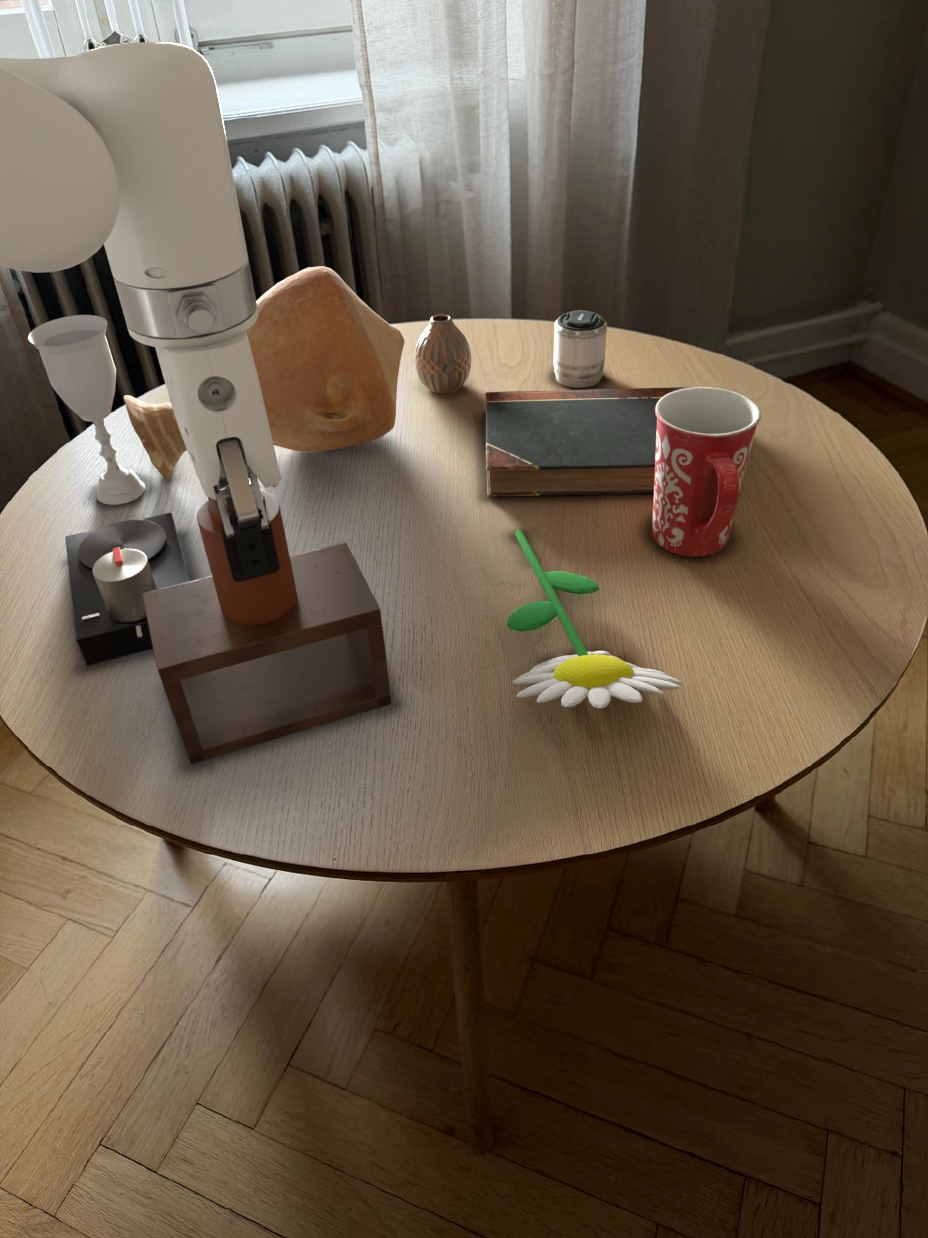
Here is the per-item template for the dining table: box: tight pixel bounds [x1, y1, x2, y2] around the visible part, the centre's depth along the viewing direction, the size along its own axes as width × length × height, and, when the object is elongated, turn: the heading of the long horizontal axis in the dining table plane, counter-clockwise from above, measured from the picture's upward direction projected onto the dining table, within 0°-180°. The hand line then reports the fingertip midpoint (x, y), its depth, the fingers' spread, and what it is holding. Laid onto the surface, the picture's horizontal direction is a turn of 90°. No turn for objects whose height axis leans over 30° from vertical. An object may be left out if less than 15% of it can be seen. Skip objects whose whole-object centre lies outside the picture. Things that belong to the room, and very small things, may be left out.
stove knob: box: [92, 547, 157, 623], centre depth 77 cm, size 4×4×5 cm
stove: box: [64, 511, 191, 667], centre depth 83 cm, size 10×18×3 cm, turn 21°
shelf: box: [142, 542, 393, 765], centre depth 71 cm, size 16×9×10 cm, turn 111°
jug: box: [123, 265, 406, 481], centre depth 98 cm, size 20×19×30 cm
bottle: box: [196, 478, 297, 626], centre depth 65 cm, size 6×6×10 cm
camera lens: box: [553, 309, 608, 389], centre depth 112 cm, size 6×6×8 cm
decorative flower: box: [505, 529, 684, 710], centre depth 78 cm, size 13×5×30 cm
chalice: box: [27, 314, 146, 506], centre depth 93 cm, size 7×7×18 cm
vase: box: [414, 313, 472, 394], centre depth 112 cm, size 7×7×9 cm
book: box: [485, 386, 696, 498], centre depth 100 cm, size 17×4×25 cm
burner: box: [78, 518, 167, 570], centre depth 86 cm, size 8×8×1 cm
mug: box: [651, 386, 762, 558], centre depth 83 cm, size 13×9×14 cm
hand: (246, 547), depth 65 cm, fingers closed on bottle, 5 cm apart
